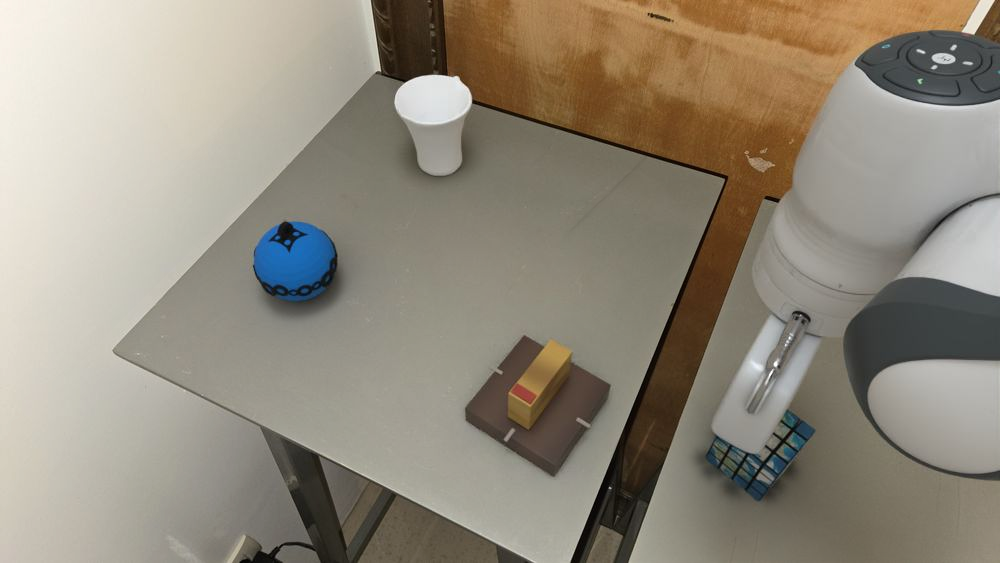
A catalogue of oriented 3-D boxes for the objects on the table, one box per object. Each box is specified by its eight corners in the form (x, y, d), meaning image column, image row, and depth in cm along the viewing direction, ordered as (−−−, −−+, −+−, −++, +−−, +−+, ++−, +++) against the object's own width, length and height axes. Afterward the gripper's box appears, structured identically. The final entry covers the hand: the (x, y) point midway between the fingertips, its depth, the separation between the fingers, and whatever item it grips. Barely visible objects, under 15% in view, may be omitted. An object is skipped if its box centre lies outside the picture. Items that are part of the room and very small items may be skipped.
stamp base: (616, 396, 74) (620, 382, 72) (555, 485, 68) (557, 474, 66) (521, 341, 78) (522, 326, 76) (456, 421, 72) (455, 408, 70)
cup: (490, 155, 95) (489, 91, 87) (440, 197, 90) (434, 133, 82) (437, 125, 98) (432, 60, 90) (387, 163, 94) (377, 99, 86)
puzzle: (795, 458, 70) (817, 429, 65) (758, 502, 68) (778, 475, 63) (741, 417, 73) (758, 386, 68) (704, 457, 70) (719, 428, 65)
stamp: (548, 363, 73) (551, 336, 70) (569, 376, 72) (573, 349, 69) (507, 416, 70) (507, 391, 66) (528, 430, 69) (530, 405, 65)
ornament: (309, 330, 79) (288, 271, 71) (247, 295, 81) (220, 235, 73) (360, 275, 83) (345, 213, 75) (299, 243, 86) (279, 181, 78)
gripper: (818, 412, 42) (752, 505, 53) (922, 193, 52) (849, 309, 63) (714, 357, 44) (671, 458, 55) (833, 157, 54) (777, 275, 65)
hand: (767, 377), depth 59 cm, fingers open, 8 cm apart
